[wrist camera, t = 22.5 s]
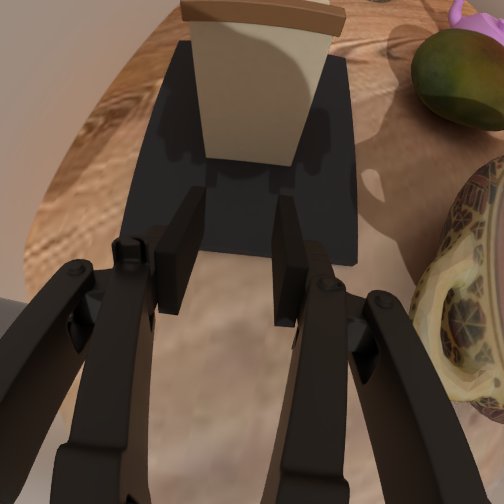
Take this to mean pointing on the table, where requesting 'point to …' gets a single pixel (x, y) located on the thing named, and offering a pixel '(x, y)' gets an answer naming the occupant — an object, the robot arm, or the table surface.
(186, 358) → the table surface
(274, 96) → the cream rectangular block
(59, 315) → the robot arm
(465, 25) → the teapot
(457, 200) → the ceramic bowl
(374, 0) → the cake
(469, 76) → the fruit
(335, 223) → the base
